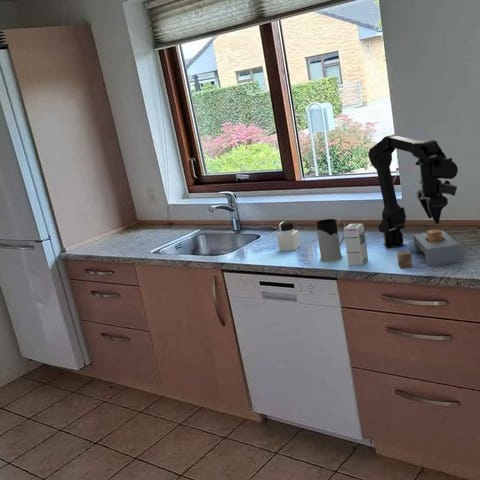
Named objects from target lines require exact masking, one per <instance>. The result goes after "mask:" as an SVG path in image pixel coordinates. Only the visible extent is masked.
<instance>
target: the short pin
mask: <svg viewBox="0 0 480 480" xmlns="http://www.w3.org/2000/svg"><path fill="white" fill-rule="evenodd" d="M396 254H397V263H398V267H399V268H400V269H403V270H404V269H409V268H413V258H412V252H411V251H410V250H408V249H407V250H402V251H397V253H396Z"/></svg>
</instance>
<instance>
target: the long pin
mask: <svg viewBox="0 0 480 480" xmlns="http://www.w3.org/2000/svg"><path fill="white" fill-rule="evenodd" d="M441 231H442V230H440V229H429V230H427V231H426V233H427V235H428V243H431V242H438V241H442V232H441Z"/></svg>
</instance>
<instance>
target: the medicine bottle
mask: <svg viewBox="0 0 480 480" xmlns="http://www.w3.org/2000/svg"><path fill="white" fill-rule="evenodd" d="M278 226H279V233H278V234H277V236H276V237H277V244H278V250H279V251H280V252H294V251H296V250H297V249H298V248H299V247H301V244H300V243H301V242H300V237H299V231H298V230H297V229H295V227H294V222H293V221H292V220H285V221H281V222H280V223H279V224H278Z"/></svg>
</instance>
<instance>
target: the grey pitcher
mask: <svg viewBox="0 0 480 480" xmlns="http://www.w3.org/2000/svg"><path fill="white" fill-rule="evenodd" d="M341 221H342V222H343V229H344V228H345V227H346V226H347V224H346V221H345V220H344V219H339V220H336V219H335V218H326V219H321V220H319V221H317V222H316V228H317V230H316V231H317V239H318V245H319V247H318V248H319V252H320V253H319V254H320V257H319V258H320V259H319V261H320V262H321V263H322V262H323V263H333V262H338V261H340V260H342V259H343V257H344V256H343V255H342V252H341V245H342V244H343V241H344V240H345V237H344V234H343V235H342V238H341V240H340V237H339V230H340V229H339V224H340V222H341Z"/></svg>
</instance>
